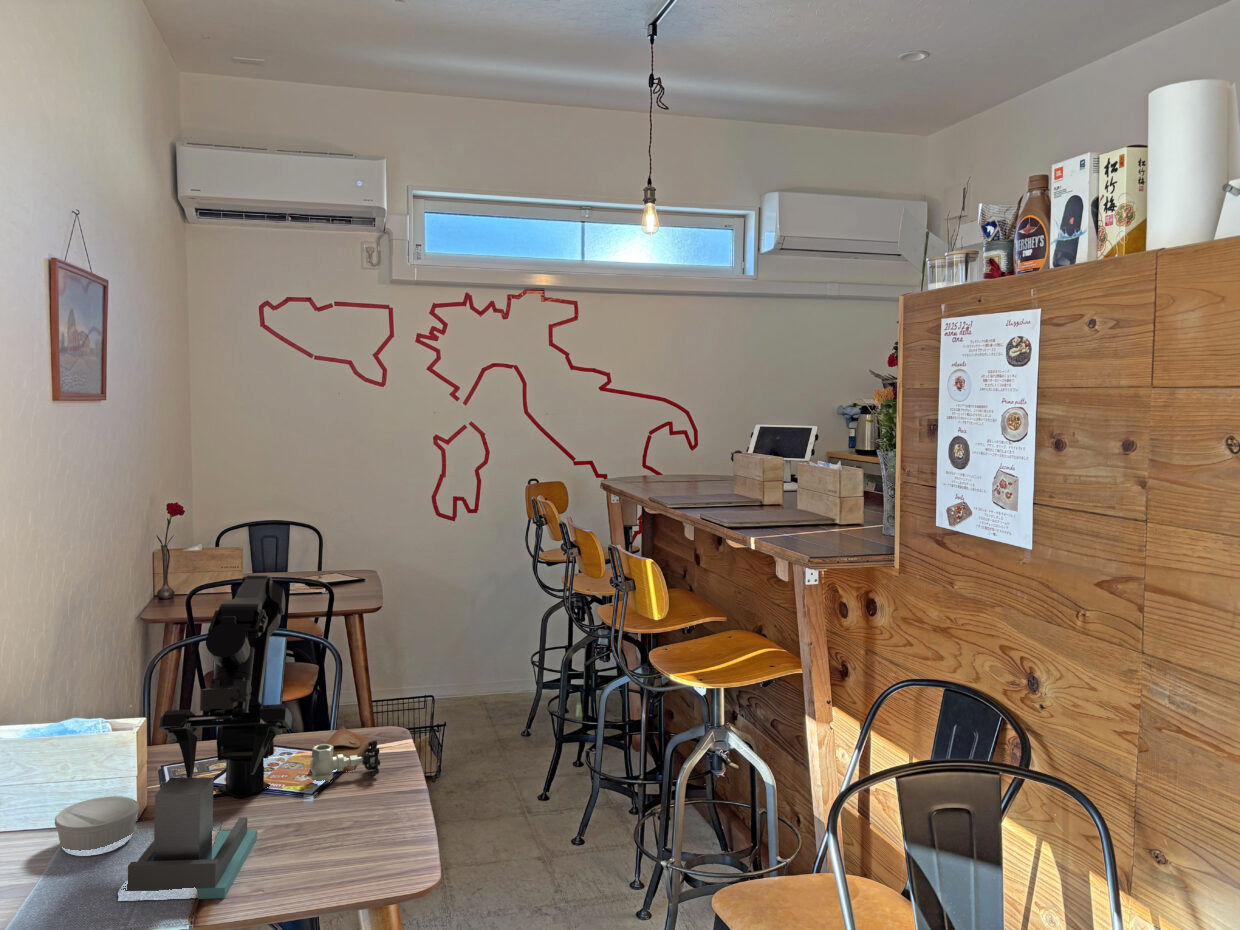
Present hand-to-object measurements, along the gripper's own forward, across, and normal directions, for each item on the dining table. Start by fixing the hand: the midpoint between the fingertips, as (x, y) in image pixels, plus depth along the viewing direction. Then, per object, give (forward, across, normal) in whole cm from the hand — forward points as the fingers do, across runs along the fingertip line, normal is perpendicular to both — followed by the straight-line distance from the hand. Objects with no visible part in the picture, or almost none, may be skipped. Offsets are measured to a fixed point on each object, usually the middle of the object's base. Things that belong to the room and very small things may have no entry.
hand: (220, 776), depth 139 cm
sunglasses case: (-10, +12, +40) cm, 43 cm away
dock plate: (+13, -3, +1) cm, 13 cm away
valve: (-4, +14, +30) cm, 33 cm away
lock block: (+14, -3, -3) cm, 14 cm away
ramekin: (+8, -19, +8) cm, 22 cm away
